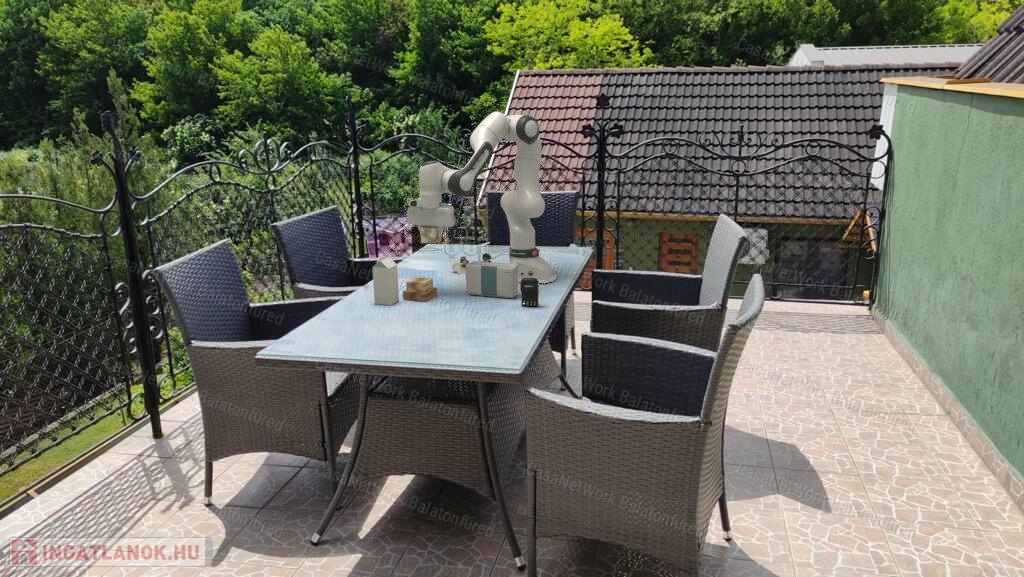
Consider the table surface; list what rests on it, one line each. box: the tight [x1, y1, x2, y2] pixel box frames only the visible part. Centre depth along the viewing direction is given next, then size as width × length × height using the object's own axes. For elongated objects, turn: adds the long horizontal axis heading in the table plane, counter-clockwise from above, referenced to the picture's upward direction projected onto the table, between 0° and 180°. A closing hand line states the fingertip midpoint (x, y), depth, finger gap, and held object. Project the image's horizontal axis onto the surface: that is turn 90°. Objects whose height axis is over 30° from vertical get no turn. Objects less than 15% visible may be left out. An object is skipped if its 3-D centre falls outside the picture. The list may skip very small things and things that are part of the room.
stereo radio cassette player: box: [465, 248, 519, 299], centre depth 281 cm, size 21×8×20 cm, turn 70°
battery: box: [519, 277, 540, 307], centre depth 265 cm, size 7×4×11 cm, turn 76°
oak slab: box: [405, 276, 434, 293], centre depth 279 cm, size 8×8×4 cm
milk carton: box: [372, 253, 400, 306], centre depth 272 cm, size 7×7×19 cm
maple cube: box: [420, 225, 442, 245], centre depth 277 cm, size 6×6×6 cm
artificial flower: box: [451, 252, 492, 275], centre depth 327 cm, size 9×22×10 cm, turn 134°
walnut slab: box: [402, 286, 438, 303], centre depth 280 cm, size 10×10×4 cm
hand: (431, 236), depth 278 cm, fingers closed on maple cube, 6 cm apart
